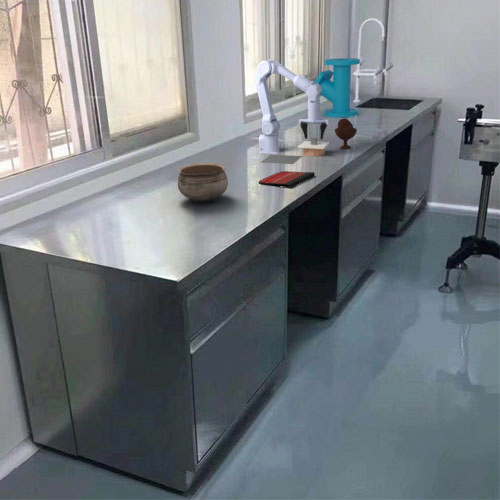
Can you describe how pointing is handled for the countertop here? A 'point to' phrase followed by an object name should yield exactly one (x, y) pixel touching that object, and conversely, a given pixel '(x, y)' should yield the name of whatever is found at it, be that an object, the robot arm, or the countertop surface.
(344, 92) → the pipe fitting
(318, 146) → the cover sheet
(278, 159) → the mat
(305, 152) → the dish
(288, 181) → the binder
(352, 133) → the ice cream bowl
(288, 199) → the countertop surface
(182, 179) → the cooking pot
